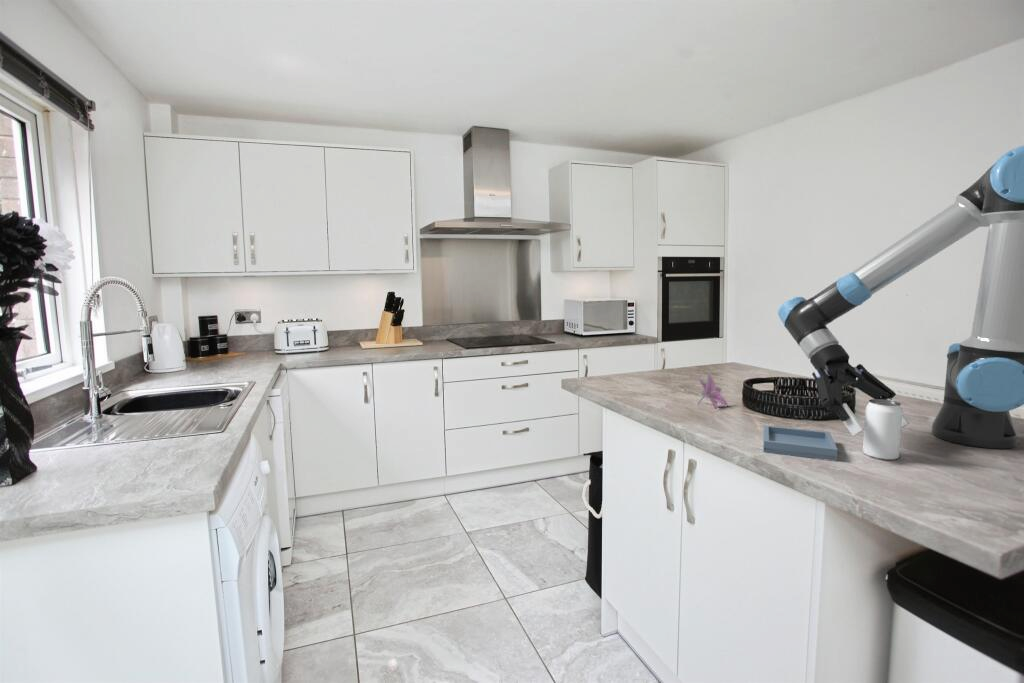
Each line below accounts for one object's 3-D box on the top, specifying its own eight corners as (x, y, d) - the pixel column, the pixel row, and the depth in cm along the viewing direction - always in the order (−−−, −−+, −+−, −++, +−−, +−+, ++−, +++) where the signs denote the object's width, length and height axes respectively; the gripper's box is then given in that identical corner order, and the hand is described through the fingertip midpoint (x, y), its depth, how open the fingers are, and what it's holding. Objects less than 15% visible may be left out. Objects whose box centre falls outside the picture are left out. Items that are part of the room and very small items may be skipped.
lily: (694, 414, 151) (711, 389, 147) (677, 391, 161) (693, 367, 157) (725, 423, 154) (743, 398, 150) (707, 400, 164) (723, 376, 161)
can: (905, 461, 107) (909, 406, 106) (871, 459, 109) (875, 405, 107) (889, 451, 114) (893, 399, 112) (857, 450, 115) (860, 398, 114)
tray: (829, 442, 121) (829, 432, 120) (836, 461, 108) (837, 449, 108) (763, 435, 127) (764, 425, 126) (763, 451, 114) (764, 441, 114)
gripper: (851, 358, 129) (908, 432, 117) (774, 364, 122) (826, 444, 109) (873, 340, 124) (935, 415, 111) (794, 345, 116) (851, 426, 104)
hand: (882, 429), depth 110 cm, fingers open, 13 cm apart
